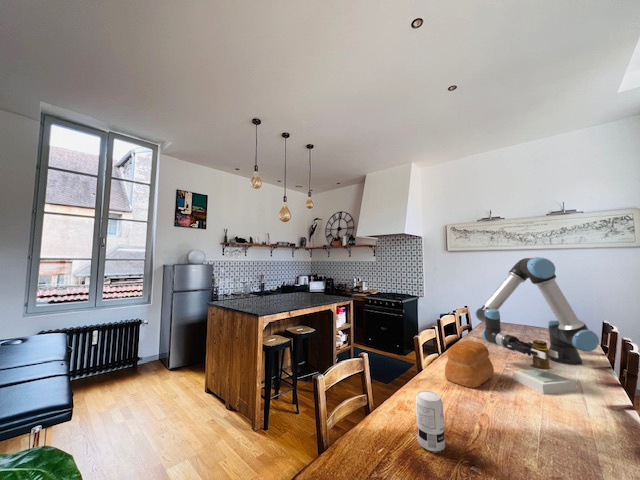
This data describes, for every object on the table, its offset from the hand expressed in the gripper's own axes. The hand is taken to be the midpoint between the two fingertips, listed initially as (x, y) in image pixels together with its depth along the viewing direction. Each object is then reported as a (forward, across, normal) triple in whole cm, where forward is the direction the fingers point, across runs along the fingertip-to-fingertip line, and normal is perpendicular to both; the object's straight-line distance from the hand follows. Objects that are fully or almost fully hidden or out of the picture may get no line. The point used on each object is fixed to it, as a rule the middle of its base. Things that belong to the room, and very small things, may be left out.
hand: (551, 355), depth 122 cm
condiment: (-5, +1, -7) cm, 9 cm away
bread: (-19, +28, -16) cm, 37 cm away
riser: (-5, 0, -15) cm, 16 cm away
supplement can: (+23, +77, -16) cm, 82 cm away
